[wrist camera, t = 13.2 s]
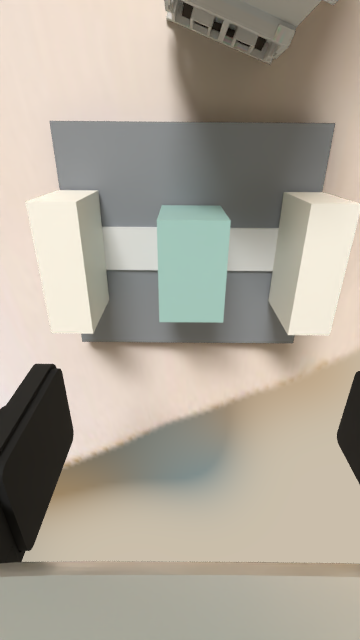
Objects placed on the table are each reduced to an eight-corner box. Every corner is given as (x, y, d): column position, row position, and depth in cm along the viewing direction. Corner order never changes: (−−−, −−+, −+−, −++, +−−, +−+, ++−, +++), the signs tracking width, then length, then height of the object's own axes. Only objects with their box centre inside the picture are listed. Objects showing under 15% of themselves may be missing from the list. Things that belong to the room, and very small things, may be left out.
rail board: (326, 124, 25) (384, 115, 18) (288, 335, 33) (317, 385, 26) (56, 122, 25) (7, 112, 18) (86, 333, 33) (61, 383, 26)
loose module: (220, 205, 26) (230, 220, 20) (215, 292, 29) (222, 325, 24) (161, 205, 26) (156, 220, 20) (163, 292, 29) (159, 325, 24)
